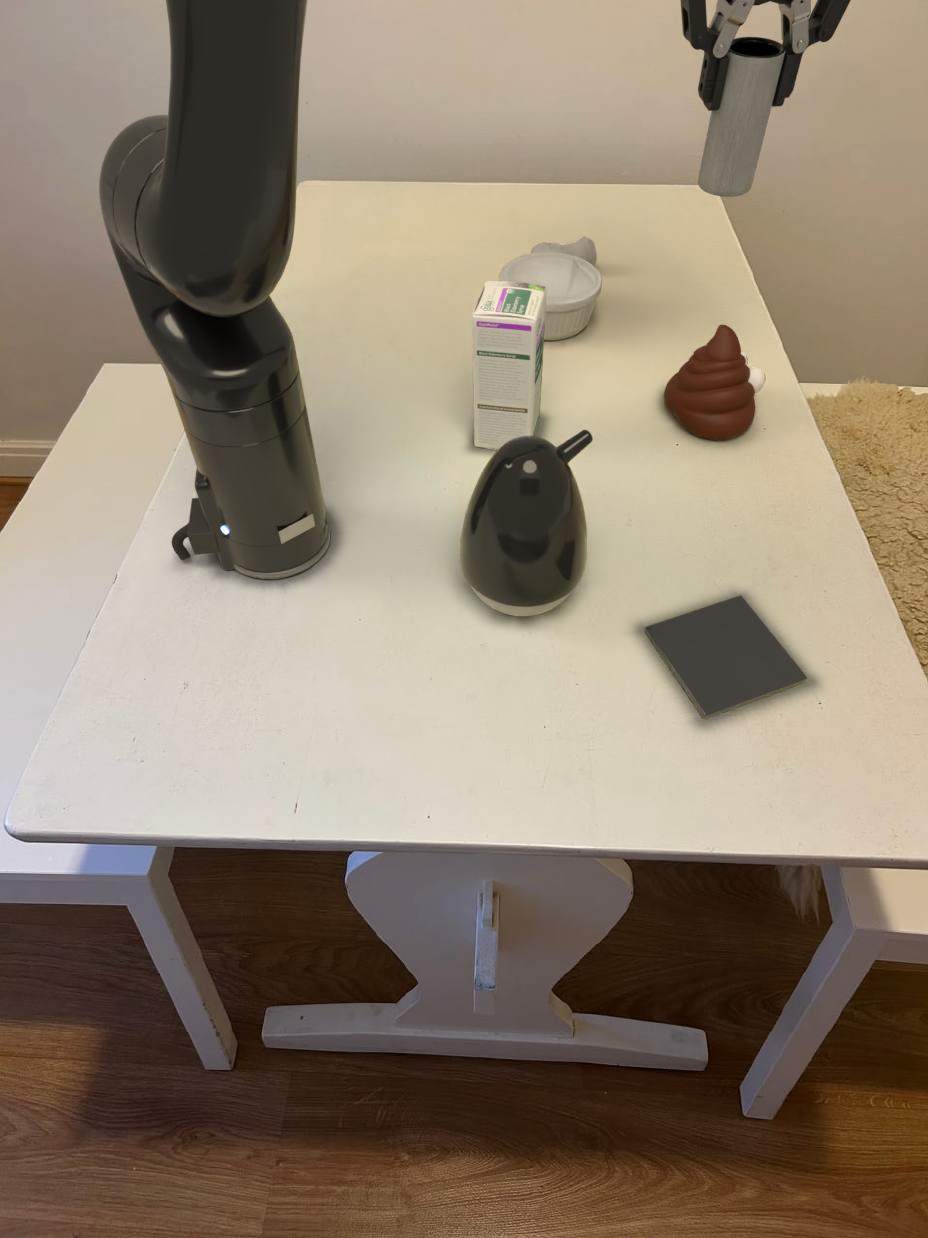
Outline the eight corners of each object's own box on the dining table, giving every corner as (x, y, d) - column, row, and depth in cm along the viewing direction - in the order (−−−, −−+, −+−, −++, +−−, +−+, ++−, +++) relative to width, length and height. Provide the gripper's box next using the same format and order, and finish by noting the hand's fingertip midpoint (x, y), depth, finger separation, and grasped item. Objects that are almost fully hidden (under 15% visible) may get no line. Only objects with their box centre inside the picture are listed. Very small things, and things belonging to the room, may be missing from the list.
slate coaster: (704, 720, 62) (705, 715, 61) (643, 631, 67) (645, 626, 67) (805, 682, 64) (808, 677, 63) (739, 599, 69) (741, 594, 69)
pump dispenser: (607, 604, 69) (636, 460, 57) (500, 654, 66) (506, 514, 54) (540, 528, 75) (553, 383, 63) (438, 571, 71) (431, 427, 60)
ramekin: (614, 334, 94) (620, 290, 90) (523, 356, 91) (525, 312, 87) (569, 286, 101) (574, 243, 96) (483, 305, 98) (484, 261, 94)
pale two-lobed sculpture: (531, 292, 102) (526, 260, 104) (596, 288, 102) (590, 256, 104) (533, 266, 98) (528, 232, 100) (601, 261, 98) (595, 228, 100)
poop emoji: (646, 394, 87) (662, 311, 80) (717, 376, 89) (739, 294, 82) (696, 452, 81) (718, 369, 74) (771, 432, 83) (800, 349, 76)
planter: (744, 172, 73) (777, 35, 65) (756, 197, 70) (793, 56, 62) (692, 174, 73) (719, 36, 65) (703, 198, 70) (732, 57, 62)
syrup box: (531, 455, 81) (540, 319, 70) (471, 447, 82) (471, 311, 70) (539, 419, 84) (550, 283, 73) (482, 412, 85) (484, 277, 74)
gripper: (889, -203, 56) (811, 82, 70) (681, -195, 56) (642, 92, 69) (940, -184, 52) (846, 118, 65) (714, -174, 51) (666, 129, 64)
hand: (741, 103), depth 67 cm, fingers closed on planter, 4 cm apart
